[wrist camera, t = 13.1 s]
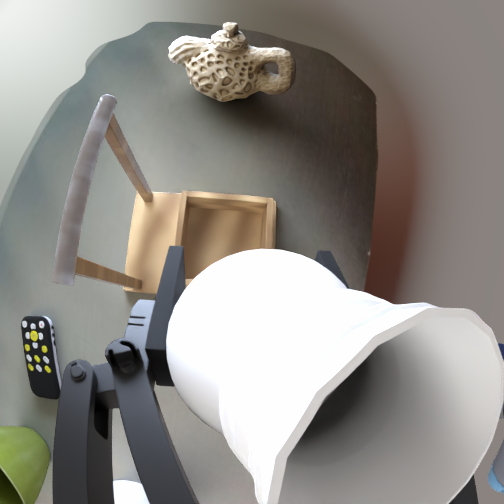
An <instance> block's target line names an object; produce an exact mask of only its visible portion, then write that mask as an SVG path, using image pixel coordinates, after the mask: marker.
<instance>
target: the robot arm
mask: <svg viewBox="0 0 504 504" xmlns="http://www.w3.org/2000/svg"><path fill="white" fill-rule="evenodd" d="M315 261H316V262H318V263H319V264H321V265H322V266H323V267H325V268H326V269H328V270H329V271H331V272H332V273H333V274H334V275H335V276H336V277H337V278H338V279H339V280H340V281H341V282H342V283H343V284H344V285H345V286H346V288H347V289H349V287H348V285H347V283H346V281H345V279H344V277H343V275H342V273H341V271H340V269H339V267H338V265H337V263H336V261H335V259H334V257H333V255H332V253H331V252H330V251H317V255H316V259H315ZM185 288H186V280H185V264H184V246H169V249H168V253H167V256H166V260H165V264H164V267H163V271H162V275H161V279H160V283H159V287H158V291H157V295H156V299H155V300H140V299H139V300H138V301H137V302H136V304H135V305H134V306H133V307H132V310H131V314H130V318H129V321H128V325H127V328H126V331H125V335H124V338H121V339H117V340H114V341H113V342H111V343H110V344H109V345H108V347H107V348H106V350H105V357H106V359H107V361H108V363H105V364H100V365H94V366H91V365H90V364H89V363H88V362H87V361H84V360H75V361H73V362H71V363H69V364H68V365H67V366H66V368H65V371H64V374H63V379H62V385H61V391H60V397H59V403H58V410H57V418H56V427H55V438H54V451H53V504H115V501H114V489H113V472H112V409H113V408H119V409H120V414H121V418H122V422H123V426H124V429H125V433H126V437H127V440H128V444H129V447H130V451H131V454H132V457H133V460H134V463H135V466H136V469H137V472H138V475H139V478H140V481H141V483H142V486H143V489H144V491H145V494H146V496H147V499H148V501H149V504H199V502H198V500H197V498H196V496H195V494H194V491H193V489H192V487H191V485H190V483H189V481H188V479H187V476H186V474H185V472H184V469H183V467H182V465H181V462H180V460H179V458H178V455H177V453H176V450H175V448H174V445H173V443H172V440H171V437H170V435H169V432H168V429H167V426H166V424H165V421H164V418H163V415H162V412H161V409H160V406H159V403H158V400H157V397H156V394H155V391H154V385H155V381H156V384H157V385H160V386H173V387H174V382H173V380H172V378H171V374H170V370H169V366H168V362H167V352H166V338H167V332H168V325H169V321H170V318H171V316H172V313H173V310H174V307H175V305H176V303H177V302H178V300H179V298H180V297H181V295H182V293H183V292H184V290H185ZM503 361H504V360H503ZM501 418H504V401H503V405H502V409H501V413H500V417H499V419H501ZM488 482H489V484H490V486H491V487H492V488H493V489H495V490H496V491H498V492H503V494H504V440H503V443H502V445H501V447H500V449H499V452H498V454H497V456H496V458H495V459H494V461H493V464H492V467H491V469H490V471H489V474H488ZM449 504H478V499H477V492H476V485H475V480H474V475H473V476H472V477H471V479H470V480H469V482H468V483H467V484H466V485H465V486H464V487H463V489H462V490H461V491H460V492H459V493H458V494H457V495H456V496H455V497H454V499H453V500H452V501H451V502H450V503H449Z"/></svg>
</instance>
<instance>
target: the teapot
mask: <svg viewBox="0 0 504 504" xmlns="http://www.w3.org/2000/svg"><path fill="white" fill-rule="evenodd" d="M168 49H169V52H170V53H169V55H168V57H169V58H170V61H172V62H174V64H179V63H182V65H183V66H184V67H185V68H186V70H187V74H188V78H189V79H190V84H192V85H193V86H194V87H195V89H196V90H197V91H198V92H201V93H202V94H204V95H206V96H209V97H211V98H214V99H216V100H218V101H222V102H226V101H230V100H233V99H239V98H247V97H248V96H249V95H251V94H254V93H256V92H258V91H262V92H265V93H267V94H271V95H273V94H280V93H284V92H286V91H287V90H288V89H290V88H291V85H292V84H293V83H294V81H295V74H296V64H295V60H294V58H293V56H292V55H291V53H290V52H289V51H286V50H284V49H282V48H257V47H252V46H250V45H249V43H248V41H247V39H245V36H244V34H243V33H242V32H240V31H238V24H237V23H231V22H227V23H224V25H223V30H221V31H219V32H217V33H216V34H214V35H212V37H211V40H210V39H200V38H197V37H189V36H183V37H180V38H179V39H177V40H175V41H174V42H173V43H172V45H171V46H170V47H169V48H168ZM267 63H276V64H277V65H278V66H279V74H273V73H271V72H270V71H269V69H268V68H267V67H266V65H265V64H267Z"/></svg>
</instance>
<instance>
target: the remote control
mask: <svg viewBox="0 0 504 504" xmlns="http://www.w3.org/2000/svg"><path fill="white" fill-rule="evenodd" d="M21 329H22V338H23V346H24V353H25V360H26V365H27V371H28V376H29V381H30V386H31V389H32V391H33V393H34V394H35V395H36V396H39V397H43V398H49V399H58V398H59V397H60V391H61V385H62V383H61V378H60V373H59V367H58V361H57V355H56V348H55V340H54V331H53V324H52V322H51V320H50V319H49V318H47V317H44V316H27V317H24V318H23V320H22V322H21Z"/></svg>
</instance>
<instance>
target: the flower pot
mask: <svg viewBox="0 0 504 504" xmlns="http://www.w3.org/2000/svg"><path fill="white" fill-rule="evenodd" d="M49 461H50V451H49V448H48V446H47V444H46V442H45V441H44V440H43V438H42V437H41V436H40V435H39V434H38V433H37V432H35V431H34V430H32V429H30V428H27V427H15V426H0V504H34V503H35V502H36V500H37V497H38V495H39V493H40V491H41V488H42V485H43V483H44V480H45V477H46V473H47V470H48V466H49Z"/></svg>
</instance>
